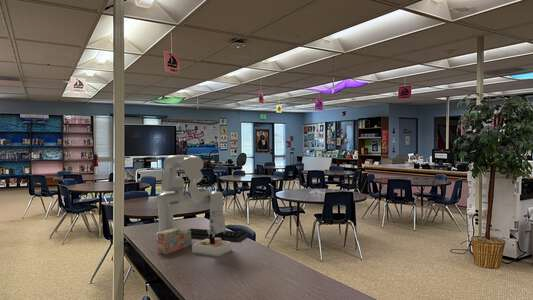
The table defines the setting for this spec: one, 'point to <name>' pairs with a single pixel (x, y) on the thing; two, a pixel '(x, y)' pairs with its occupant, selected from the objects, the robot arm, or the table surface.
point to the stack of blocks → (173, 240)
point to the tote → (211, 249)
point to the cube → (205, 242)
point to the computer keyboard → (218, 235)
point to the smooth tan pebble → (218, 242)
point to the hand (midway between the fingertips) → (217, 242)
